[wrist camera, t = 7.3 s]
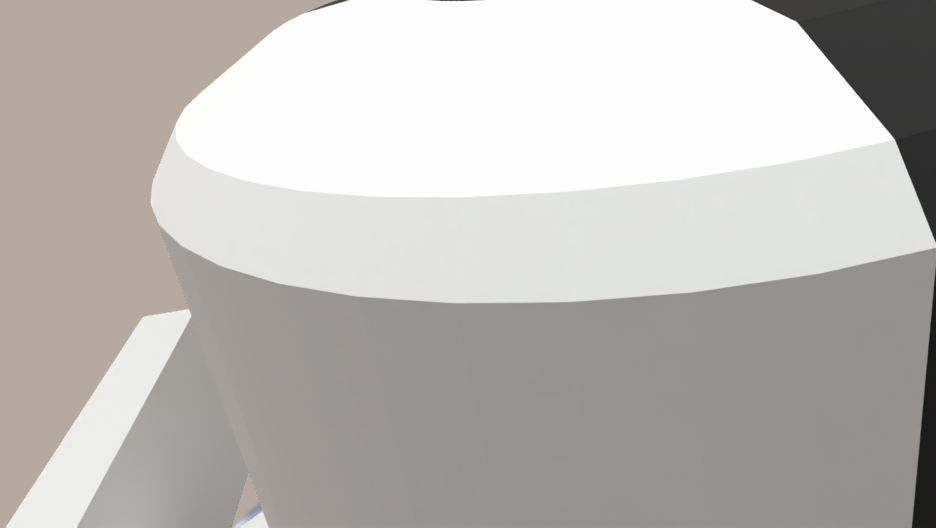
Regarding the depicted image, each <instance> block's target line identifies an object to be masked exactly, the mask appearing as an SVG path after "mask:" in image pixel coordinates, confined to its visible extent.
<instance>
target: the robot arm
mask: <svg viewBox="0 0 936 528" xmlns="http://www.w3.org/2000/svg"><path fill="white" fill-rule="evenodd" d="M247 475H248V470H247V467H246V464H245V461H244V459H243V456H242V453H241V450H240V448H239V445H238V442H237V439H236V437H235V434H234V431H233V428H232V426H231V423H230V420H229V417H228V415H227V412H226V409H225V406H224V404H223V401H222V398H221V396H220V393H219V390H218V387H217V385H216V382H215V379H214V376H213V374H212V371H211V368H210V365H209V363H208V360H207V357H206V354H205V352H204V349H203V346H202V343H201V341H200V338H199V335H198V333H197V330H196V327H195V324H194V322H193V319H192V316H191V313H190V311H189V309H187V310H181V311H175V312H169V313H163V314H157V315H151V316H146V317H143V318H142V319H141V321H140V322H139V324H138V325H137V327H136V329H135V330H134V332H133V333H132V335H131V336H130V338H129V339H128V341H127V342H126V344H125V345H124V347H123V349H122V350H121V352H120V353H119V355H118V356H117V358H116V359H115V361H114V362H113V364H112V365H111V367H110V368H109V370H108V372H107V373H106V375H105V376H104V378H103V379H102V381H101V382H100V384H99V386H98V387H97V388H96V390H95V391H94V393H93V395H92V396H91V398H90V399H89V401H88V402H87V404H86V405H85V407H84V409H83V410H82V412H81V413H80V415H79V416H78V418H77V419H76V421H75V422H74V424H73V425H72V427H71V428H70V430H69V432H68V433H67V435H66V436H65V438H64V439H63V441H62V442H61V444H60V445H59V447H58V448H57V450H56V451H55V453H54V455H53V456H52V458H51V459H50V461H49V462H48V464H47V465H46V467H45V468H44V470H43V471H42V473H41V474H40V476H39V478H38V479H37V481H36V482H35V484H34V485H33V487H32V488H31V490H30V491H29V493H28V494H27V496H26V497H25V499H24V501H23V502H22V504H21V505H20V507H19V508H18V510H17V511H16V513H15V514H14V516H13V517H12V519H11V521H10V522H9V524H8V525H7V527H6V528H231V527H232V524H233V520H234V517H235V514H236V511H237V508H238V504H239V501H240V498H241V495H242V491H243V488H244V485H245V482H246V479H247Z"/></svg>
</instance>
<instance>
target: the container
mask: <svg viewBox="0 0 936 528" xmlns="http://www.w3.org/2000/svg"><path fill="white" fill-rule="evenodd" d="M150 204H151V206H152V209H153V212H154V215H155V217H156V220H157V223H158V225H159V228H160V231H161V234H162V236H163V239H164V242H165V245H166V248H167V250H168V253H169V256H170V258H171V261H172V264H173V267H174V269H175V272H176V275H177V278H178V280H179V283H180V286H181V289H182V291H183V294H184V297H185V300H186V302H187V305H188V308H189V311H190V313H191V316H192V319H193V322H194V324H195V327H196V330H197V333H198V335H199V338H200V341H201V343H202V346H203V349H204V352H205V354H206V357H207V360H208V363H209V365H210V368H211V371H212V374H213V376H214V379H215V382H216V385H217V387H218V390H219V393H220V396H221V398H222V401H223V404H224V406H225V409H226V412H227V415H228V417H229V420H230V423H231V426H232V428H233V431H234V434H235V437H236V439H237V442H238V445H239V448H240V450H241V453H242V456H243V459H244V461H245V464H246V467H247V470H248V472H249V475H250V478H251V480H252V483H253V486H254V489H255V491H256V494H257V497H258V500H259V502H260V505H261V508H262V512H261V513H259V514H258V515H257V516H255V517H254V518H252V519H251V520H249V521H248V522H246V523H245V524H244V525H242V526H241V527H239V528H936V0H337V1H334V2H331V3H329V4H326V5H323V6H321V7H319V8H316V9H314V10H311V11H309V12H307V13H304V14H302V15H300V16H298V17H296V18H294V19H292V20H290V21H288V22H286V23H285V24H283V25H282V26H280V27H279V28H277V29H276V30H274V31H273V32H272V33H270V34H269V35H268V36H267V37H266V38H265V39H263V40H262V41H261V42H260V43H259V44H257V45H256V46H255V47H254V48H253V49H252V50H250V51H249V52H248V53H247V54H246V55H244V56H243V57H242V58H241V59H240V60H239V61H238V62H237V63H235V64H234V65H233V66H232V67H230V68H229V69H228V70H227V71H226V72H225V73H223V74H222V75H221V76H220V77H219V78H217V79H216V80H215V81H214V82H213V83H212V84H210V85H209V86H208V87H207V88H206V89H205V90H203V91H202V92H201V93H200V94H199V95H198V96H197V97H196V98H195V99H194V100H193V101H192V102H191V103H190V104H189V105H188V106H187V107H185V109H184V110H183V112H182V114H181V116H180V117H179V119H178V121H177V123H176V125H175V127H174V130H173V133H172V135H171V137H170V140H169V142H168V145H167V147H166V150H165V152H164V155H163V157H162V160H161V162H160V165H159V167H158V170H157V172H156V175H155V177H154V180H153V183H152V193H151V203H150Z"/></svg>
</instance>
